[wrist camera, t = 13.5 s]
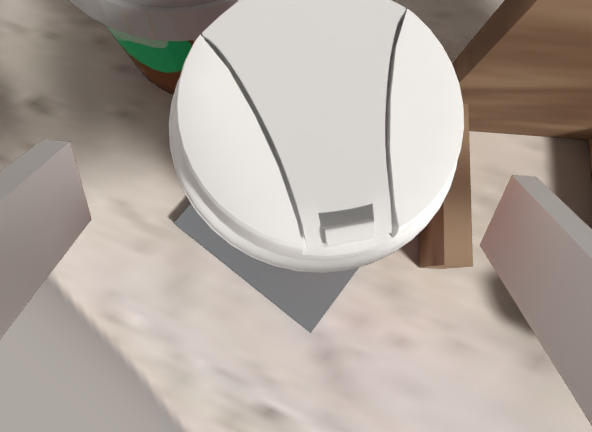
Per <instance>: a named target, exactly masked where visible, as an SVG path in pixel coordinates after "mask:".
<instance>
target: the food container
mask: <svg viewBox="0 0 592 432" xmlns="http://www.w3.org/2000/svg"><path fill="white" fill-rule="evenodd" d="M69 1H70V2H71V3H72V4H73V5H74V6H76V7H77V8H78V9H80V10H81V11H82V12H84V13H85V14H86V15H88V16H89V17H91V18H93V19H94V20H96V21H98V22H100V23H102V24H104V25H105V26H106V27H107V28H108V29H109V31H110V32H111V33H112V35H113V36H114V37H115V38H116V40H117V41H118V42H119V43H120V45H121V46H122V47H123V49H124V50H125V51H126V52H127V54H128V55H129V56H130V58H131V59H132V60H133V61H134V63H135V64H136V65H137V67H138V68H139V69H140V70H141V72H142V73H143V74H144V75H145V76H146V77H147V78H148V79H149V80H150V81H151V82H152V83H154V84H155V85H156V86H158V87H159V88H161V89H163V90H165V91H167V92H169V93H171V94H174V92H175V88H176V85H177V82H178V80H179V78H180V75H181V71H182V68H183V64H184V62H185V60H186V58H187V56H188V54H189V52H190V50H191V48H192V46H193V44H194V42H195V41H196V39H197V38H198V37H199V35H201V36H203V35H202V32H203V31H204V30H205V29H206V28H208V27H209V26H210V25H211V24H212V23H213V22H214V21H215V20H216V19H217V18H218V17H219V16H220V15H221V14H223V13H224V12H225V11H226V10H228V9H229V8H230V7H231V6H233V5H234V4H235V3H236V2H238V0H69Z"/></svg>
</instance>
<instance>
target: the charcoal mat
mask: <svg viewBox="0 0 592 432" xmlns="http://www.w3.org/2000/svg"><path fill="white" fill-rule="evenodd" d="M174 224H175V225H176V226H178V227H179V228H180V229H181V230H183V231H184V232H185V233H186V234H188V235H189V236H190V237H191V238H193V239H194V240H195V241H196V242H198V243H199V244H200V245H201V246H203V247H204V248H205V249H206V250H208V251H209V252H210V253H211V254H213V255H214V256H215V257H216V258H218V259H219V260H220V261H221V262H223V263H224V264H225V265H226V266H228V267H229V268H230V269H231V270H233V271H234V272H235V273H236V274H238V275H239V276H240V277H241V278H243V279H244V280H245V281H246V282H248V283H249V284H250V285H251V286H253V287H254V288H255V289H256V290H258V291H259V292H260V293H261V294H263V295H264V296H265V297H266V298H268V299H269V300H270V301H271V302H272V303H274V304H275V305H276V306H277V307H279V308H280V309H281V310H282V311H284V312H285V313H286V314H287V315H289V316H290V317H291V318H292V319H294V320H295V321H296V322H297V323H299V324H300V325H301V326H302V327H304V328H305V329H306V330H307V331H309V332H310V333H311V332H312V330H313V329H314V328H315V326H316V325H317V324H318V322H319V321H320V320H321V318H322V317H323V315H324V314H325V313H326V311H327V310H328V309H329V307H330V306H331V305H332V303H333V302H334V301H335V299H336V298H337V297H338V295H339V294H340V292H341V291H342V290H343V288H344V287H345V286H346V284H347V283H348V282H349V280H350V279H351V278H352V276H353V275H354V273H355V272H356V271H357V269H358V268H359V267H357V268H353V269H349V270H344V271H334V272H325V273H318V272H300V271H294V270H290V269H285V268H280V267H276V266H273V265H270V264H268V263H265V262H262V261H260V260H257V259H255V258H252V257H250V256H249V255H247V254H245V253H243V252H242V251H240V250H238V249H237V248H235V247H233V246H232V245H230V244H229V243H228V242H227V241H225V240H224V239H223V238H222V237H220V236H219V235H218V234H217V233H216V232H214V231H213V230H212V229H211V228H210V227H209V226H208V224H207V223H206V222H205V221H204V220H203V219H202V218H201V216H200V215H199V214H198V213H197V212H196V210H195V209H194V207H193V206H192V204H190V205H189V206H188V207H187V209H186V210H185V211H184V212H183V213H182V214H181V215H180V217H179V218H178V219H177V220H176V221H175V222H174Z"/></svg>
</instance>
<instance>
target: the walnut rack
mask: <svg viewBox="0 0 592 432" xmlns="http://www.w3.org/2000/svg"><path fill="white" fill-rule="evenodd" d="M452 65H453V67H454V70H455V73H456V76H457V79H458V81H459V85H460V90H461V95H462V101H463V109H464V131H463V138H462V145H461V150H460V153H459V157H458V160H457V167H456V171H455V174H454V177H453V180H452V183H451V186H450V189H449V191H448V193H447V195H446V197H445V199H444V201H443V203H442V205H441V207H440V208H439V210H438V211H437V212H436V214H435V215H434V216H433V218H432V219H431V221H430V222H429V223H428V225H427V226H426V227H425V228H424V229H423V230H422V231H421V232H419V267H420V268H438V269H447V268H459V267H472V266H473V255H472V220H471V186H470V151H469V131H478V132H491V133H505V134H518V135H531V136H544V137H558V138H571V139H584V140H589V150H590V162H591V173H592V0H505V1H504V2H503V3H502V4H501V5H500V7H499V8H498V9H497V10H496V11H495V13H494V14H493V15H492V16H491V18H490V19H489V20H488V21H487V22H486V24H485V25H484V26H483V27H482V28H481V30H480V31H479V32H478V33H477V34H476V36H475V37H474V38H473V39H472V41H471V42H470V43H469V44H468V45H467V47H466V48H465V49H464V50H463V51H462V53H461V54H460V55H459V56H458V57H457V59H456V60H455V61H454V62H453V64H452Z"/></svg>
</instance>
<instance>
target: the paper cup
mask: <svg viewBox="0 0 592 432" xmlns="http://www.w3.org/2000/svg"><path fill="white" fill-rule="evenodd" d="M405 10H406V8H405V7H404V6H402V5H400V4H398V3H396V2H394V1H392V0H239V1H238V2H236V3H235V4H234V5H233V6H231V7H230V8H229V9H228V10H226V11H225V12H224V13H223V14H221V15H220V16H219V17H218V18H217V19H216V20H215V21H214V22H213V23H212V24H211V25H210V26H209V27H208V28H206V29H205V30H204V31H203V32H202V35H203V36H201V35H199V37H198V38H197V39H196V41H195V42H194V44H193V46H192V48H191V50H190V52H189V54H188V56H187V58H186V60H185V62H184V64H183V68H182V71H181V75H180V78H179V80H178V82H177V85H176V88H175V92H174V95H173V99H172V102H171V109H170V117H169V143H170V151H171V155H172V160H173V164H174V169H175V172H176V174H177V176H178V179H179V181H180V184H181V186H182V189H183V191H184V193H185V194H186V196H187V198H188V199H189V201H190V202H191V204H192V206H193V207H194V209H195V210H196V212H197V213H198V214H199V215H200V216H201V218H202V219H203V220H204V221H205V222H206V223H207V224H208V226H209V227H210V228H211V229H212V230H213V231H214V232H216V233H217V234H218V235H219V236H220V237H222V238H223V239H224V240H225V241H227V242H228V243H229V244H230V245H232V246H233V247H235V248H237V249H238V250H240V251H242V252H243V253H245V254H247V255H249V256H250V257H252V258H255V259H257V260H260V261H262V262H265V263H268V264H270V265H273V266H276V267H280V268H285V269H290V270H294V271H300V272H318V273H325V272H334V271H344V270H349V269H353V268H357V267H360V266H364V265H368V264H371V263H373V262H375V261H377V260H380V259H382V258H384V257H386V256H388V255H390V254H392V253H394V252H395V251H397V250H398V249H400V248H401V247H403V246H404V245H405V244H407V243H408V242H410V241H411V240H412V239H413V238H414V237H415V236H416V235H417V234H418V233H419V232H421V231H422V230H423V229H424V228H425V227H426V226H427V225H428V223H429V222H430V221H431V219H432V218H433V216H434V215H435V214H436V212H437V211H438V210H439V208H440V207H441V205H442V203H443V201H444V199H445V197H446V195H447V193H448V191H449V189H450V186H451V183H452V180H453V177H454V174H455V171H456V167H457V160H458V157H459V153H460V150H461V145H462V138H463V131H464V109H463V101H462V95H461V90H460V85H459V81H458V79H457V76H456V73H455V70H454V67H453V65H452V63H451V61H450V59H449V57H448V55H447V53H446V51H445V50H444V48H443V46H442V45H441V43H440V42H439V41H438V39H437V38H436V37H435V35H434V34H433V33H432V31H431V30H430V29H429V28H428V27H427V26H426V25H425V24H424V23H423V22H422V21H421V20H420V19H419V18H418V17H417V16H416V15H415V14H414V13H413V12H411V11H410V10H409V9H407V10H406V11H405ZM404 12H405V13H404ZM403 13H404V15H403ZM402 15H403V16H402ZM401 17H402V18H401Z"/></svg>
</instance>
